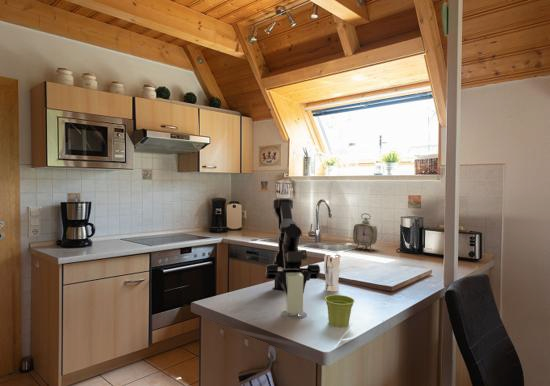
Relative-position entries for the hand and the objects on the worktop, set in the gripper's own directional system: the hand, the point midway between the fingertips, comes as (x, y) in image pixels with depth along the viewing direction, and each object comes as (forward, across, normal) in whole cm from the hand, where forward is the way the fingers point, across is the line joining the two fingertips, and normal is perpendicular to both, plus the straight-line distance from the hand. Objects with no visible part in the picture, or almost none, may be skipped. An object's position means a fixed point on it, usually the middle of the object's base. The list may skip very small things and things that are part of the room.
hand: (294, 293), depth 128 cm
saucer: (+5, 0, +7) cm, 8 cm away
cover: (+3, 0, +5) cm, 6 cm away
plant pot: (+11, +13, +1) cm, 18 cm away
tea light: (+4, 0, +6) cm, 8 cm away
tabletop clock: (-84, +69, +97) cm, 146 cm away
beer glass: (-16, +21, +29) cm, 39 cm away
